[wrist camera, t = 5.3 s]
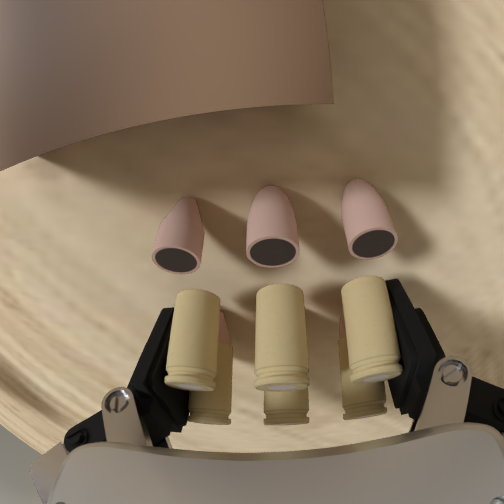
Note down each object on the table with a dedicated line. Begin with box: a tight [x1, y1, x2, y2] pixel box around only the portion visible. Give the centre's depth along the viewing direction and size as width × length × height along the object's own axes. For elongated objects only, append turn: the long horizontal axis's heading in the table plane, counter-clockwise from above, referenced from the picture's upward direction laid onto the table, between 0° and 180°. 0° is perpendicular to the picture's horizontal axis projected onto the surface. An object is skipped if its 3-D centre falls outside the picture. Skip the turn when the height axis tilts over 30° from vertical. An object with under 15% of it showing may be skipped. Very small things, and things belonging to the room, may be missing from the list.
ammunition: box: [152, 179, 403, 425], centre depth 10 cm, size 5×7×8 cm
